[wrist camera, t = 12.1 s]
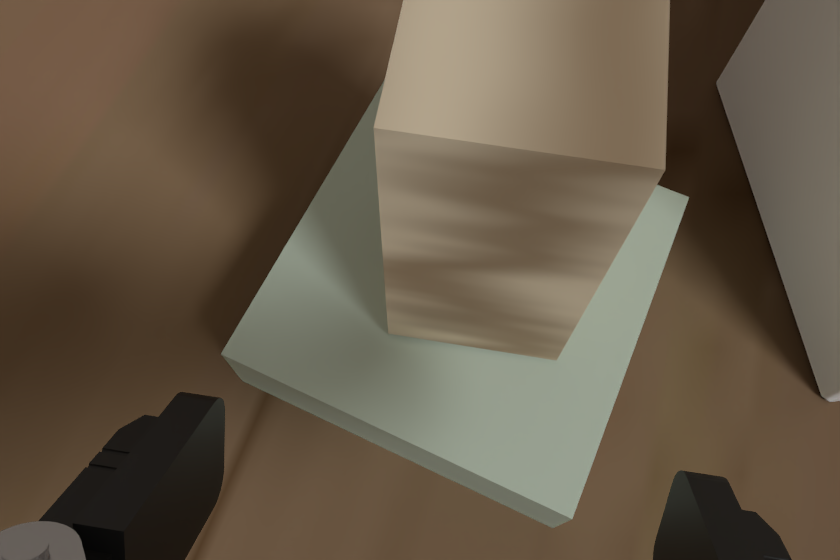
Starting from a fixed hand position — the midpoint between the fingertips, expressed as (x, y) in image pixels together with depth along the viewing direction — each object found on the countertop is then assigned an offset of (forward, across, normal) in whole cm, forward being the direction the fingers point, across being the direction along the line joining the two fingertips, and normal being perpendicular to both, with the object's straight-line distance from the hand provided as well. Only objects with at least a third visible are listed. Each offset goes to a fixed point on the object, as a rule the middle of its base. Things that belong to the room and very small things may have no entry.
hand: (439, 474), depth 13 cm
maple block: (+10, 0, 0) cm, 10 cm away
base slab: (+13, 0, +2) cm, 13 cm away
